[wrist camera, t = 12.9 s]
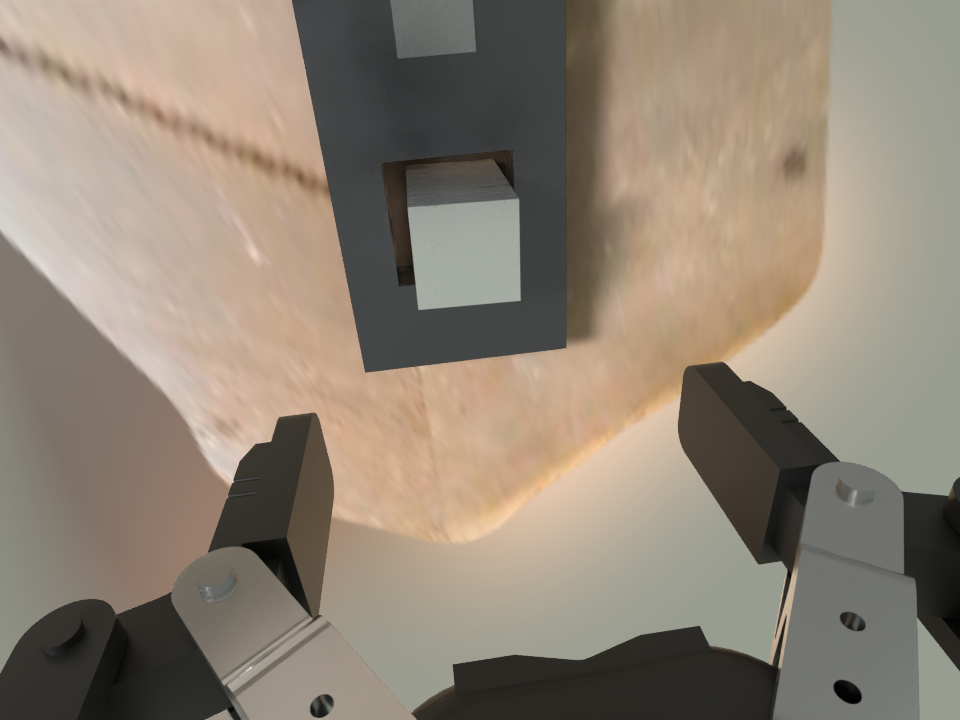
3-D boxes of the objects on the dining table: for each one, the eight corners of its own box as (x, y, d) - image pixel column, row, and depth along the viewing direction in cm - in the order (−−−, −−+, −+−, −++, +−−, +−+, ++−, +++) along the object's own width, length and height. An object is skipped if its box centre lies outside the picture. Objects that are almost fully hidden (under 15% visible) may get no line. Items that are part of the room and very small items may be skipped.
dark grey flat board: (367, 348, 32) (365, 373, 29) (275, -138, 22) (260, -156, 20) (555, 325, 32) (566, 348, 30) (548, -157, 22) (565, -177, 20)
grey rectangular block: (414, 249, 29) (418, 310, 23) (405, 165, 27) (407, 207, 21) (496, 242, 30) (520, 300, 24) (493, 159, 28) (519, 198, 22)
